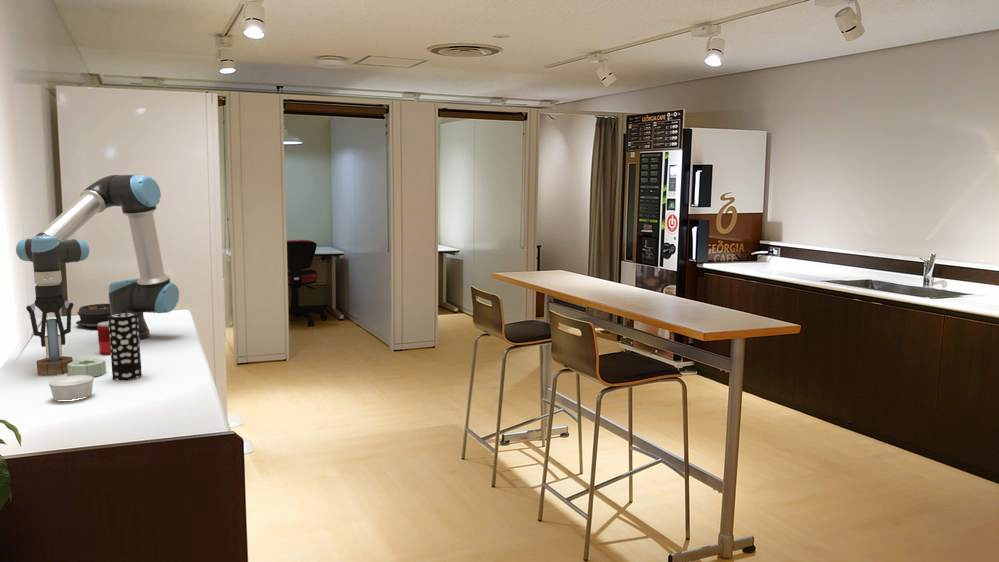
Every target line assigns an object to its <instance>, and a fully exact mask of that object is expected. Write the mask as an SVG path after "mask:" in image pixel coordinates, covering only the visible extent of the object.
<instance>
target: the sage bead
mask: <svg viewBox="0 0 999 562" xmlns="http://www.w3.org/2000/svg"><path fill="white" fill-rule="evenodd" d="M67 366H68V373H67V375H68V376H75V375H88V376H92V377H93V378H95V376H97V377H101V376H100V375H102V376H103V375H105V374H106V373H107V367H106V366H107V363H106V360H105V359H102V358H84V359H79V360H73V362H71V363H69V364H67ZM104 373H105V374H104Z"/></svg>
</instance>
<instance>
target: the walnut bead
mask: <svg viewBox="0 0 999 562" xmlns="http://www.w3.org/2000/svg"><path fill="white" fill-rule="evenodd" d="M73 359H74V358H73V356H66V355H62V356H60V361H54V362H50V361H49V357H45V358H41V359H38V360H36V371H37V372H36V374H37V376H40V375H54V376H58V375H57V374H62V375H65V373H66V374H68V366H67V364H69V363H71V362H73V361H74V360H73Z"/></svg>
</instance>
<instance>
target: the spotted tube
mask: <svg viewBox="0 0 999 562" xmlns="http://www.w3.org/2000/svg"><path fill="white" fill-rule="evenodd" d="M108 322H109V336H110V350H111V355H110V363H111V375H112V379H113V380H114V381H118V380H124V381H129V380H128V379H132V380H134V379H133V378H137V379H139V378H141V377H142V376H143V374H142V373H143V372H142V359H141V345H140V343H141V341H140V339H139V327H138V314H137V313H119V314H112V315H109V316H108ZM141 375H142V376H141ZM140 376H141V377H140ZM138 377H139V378H138Z"/></svg>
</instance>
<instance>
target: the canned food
mask: <svg viewBox="0 0 999 562" xmlns="http://www.w3.org/2000/svg"><path fill="white" fill-rule="evenodd" d="M97 338H98V339H97V340H98V350H99V354H100V355H103V356H111V350H110V336H109V322H108V321H107V322H101V323H98V325H97Z"/></svg>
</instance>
